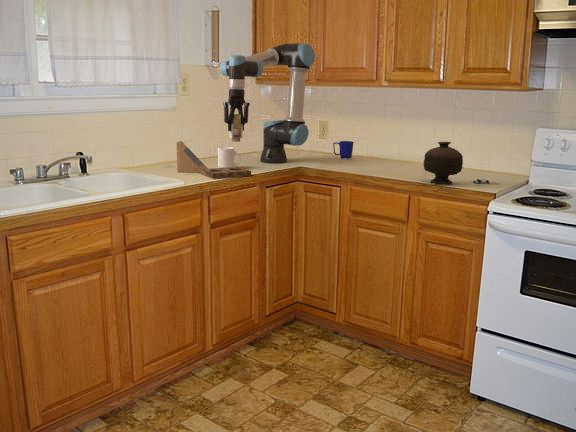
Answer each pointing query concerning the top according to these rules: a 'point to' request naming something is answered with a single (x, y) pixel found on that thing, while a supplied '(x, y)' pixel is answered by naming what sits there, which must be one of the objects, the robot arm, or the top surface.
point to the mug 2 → (345, 149)
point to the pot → (443, 162)
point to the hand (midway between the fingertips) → (235, 137)
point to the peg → (236, 127)
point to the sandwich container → (187, 160)
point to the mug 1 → (227, 157)
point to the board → (225, 172)
